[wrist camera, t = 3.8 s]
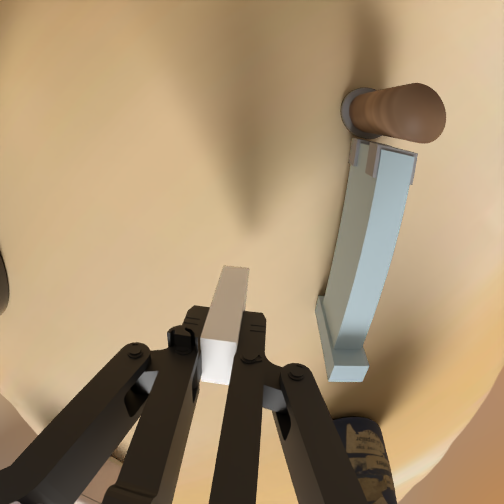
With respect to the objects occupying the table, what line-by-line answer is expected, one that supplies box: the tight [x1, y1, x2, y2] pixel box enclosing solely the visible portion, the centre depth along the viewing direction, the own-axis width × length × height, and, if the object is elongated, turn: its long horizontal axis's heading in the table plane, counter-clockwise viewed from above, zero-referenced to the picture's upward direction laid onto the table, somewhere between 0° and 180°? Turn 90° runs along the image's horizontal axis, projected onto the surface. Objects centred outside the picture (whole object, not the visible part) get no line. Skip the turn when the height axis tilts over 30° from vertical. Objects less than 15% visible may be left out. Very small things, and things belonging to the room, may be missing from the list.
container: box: [74, 456, 123, 504], centre depth 37 cm, size 18×18×12 cm
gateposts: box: [341, 83, 446, 143], centre depth 13 cm, size 21×4×8 cm, turn 85°
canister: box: [333, 417, 397, 504], centre depth 23 cm, size 10×10×18 cm
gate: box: [315, 138, 418, 382], centre depth 17 cm, size 13×2×8 cm, turn 175°
